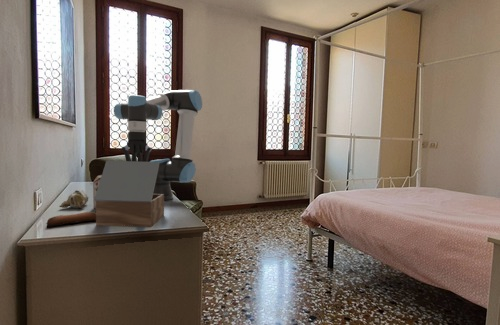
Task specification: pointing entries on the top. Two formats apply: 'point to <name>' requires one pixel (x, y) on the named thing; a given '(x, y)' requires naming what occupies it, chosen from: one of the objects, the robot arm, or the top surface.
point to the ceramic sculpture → (76, 200)
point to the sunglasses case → (71, 219)
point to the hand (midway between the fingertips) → (136, 184)
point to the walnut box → (130, 212)
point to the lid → (127, 181)
